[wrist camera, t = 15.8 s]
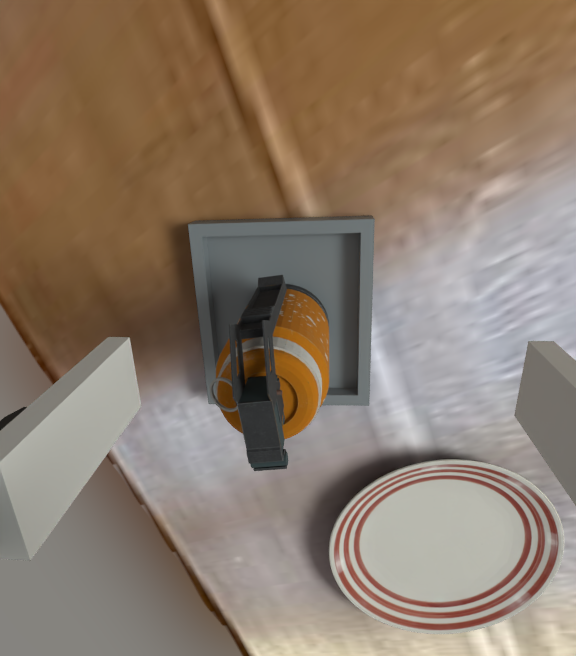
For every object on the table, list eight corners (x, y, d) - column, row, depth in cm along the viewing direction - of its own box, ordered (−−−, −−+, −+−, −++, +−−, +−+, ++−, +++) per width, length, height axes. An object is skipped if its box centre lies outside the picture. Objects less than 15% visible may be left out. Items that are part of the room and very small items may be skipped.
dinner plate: (586, 461, 51) (603, 481, 48) (517, 627, 61) (527, 652, 58) (345, 429, 52) (346, 446, 49) (316, 596, 62) (315, 620, 59)
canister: (252, 366, 49) (205, 494, 31) (232, 268, 46) (165, 345, 27) (333, 357, 48) (337, 485, 30) (320, 256, 44) (315, 328, 26)
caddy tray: (195, 220, 45) (188, 224, 43) (372, 215, 43) (374, 219, 41) (213, 392, 52) (208, 404, 49) (367, 393, 50) (369, 405, 48)
